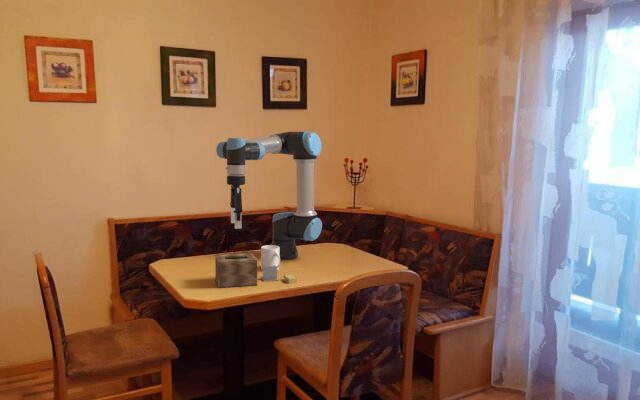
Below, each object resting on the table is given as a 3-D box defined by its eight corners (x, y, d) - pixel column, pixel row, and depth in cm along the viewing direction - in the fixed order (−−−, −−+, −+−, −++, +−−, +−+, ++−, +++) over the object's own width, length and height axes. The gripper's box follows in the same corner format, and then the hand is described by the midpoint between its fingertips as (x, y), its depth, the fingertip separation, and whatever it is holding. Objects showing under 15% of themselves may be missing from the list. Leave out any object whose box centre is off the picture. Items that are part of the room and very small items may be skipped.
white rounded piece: (271, 274, 234) (272, 251, 233) (257, 268, 243) (257, 246, 242) (287, 271, 239) (287, 248, 238) (272, 266, 249) (272, 244, 247)
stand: (275, 276, 230) (275, 264, 229) (278, 280, 224) (278, 267, 223) (261, 277, 228) (261, 265, 227) (263, 281, 222) (263, 268, 221)
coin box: (252, 277, 228) (252, 253, 226) (257, 285, 215) (257, 260, 214) (215, 279, 223) (215, 254, 222) (218, 288, 211) (218, 261, 210)
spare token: (283, 280, 226) (283, 274, 226) (291, 279, 227) (291, 274, 227) (289, 284, 220) (289, 278, 219) (296, 283, 221) (296, 278, 221)
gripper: (223, 172, 225) (224, 221, 227) (230, 177, 201) (230, 231, 204) (241, 172, 227) (241, 220, 229) (249, 177, 203) (249, 230, 206)
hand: (236, 225), depth 216 cm, fingers open, 13 cm apart
